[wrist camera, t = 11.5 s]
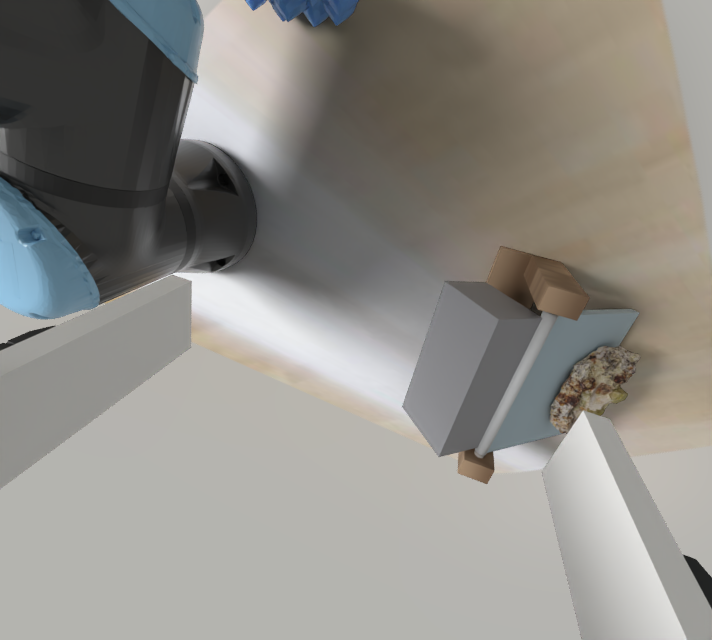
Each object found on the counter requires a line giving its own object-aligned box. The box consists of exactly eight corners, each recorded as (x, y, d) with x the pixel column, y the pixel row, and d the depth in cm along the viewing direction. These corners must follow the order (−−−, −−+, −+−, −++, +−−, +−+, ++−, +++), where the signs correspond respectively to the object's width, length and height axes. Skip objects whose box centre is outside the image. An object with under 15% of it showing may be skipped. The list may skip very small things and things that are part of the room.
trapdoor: (401, 410, 40) (441, 466, 35) (446, 276, 33) (508, 318, 27) (515, 391, 48) (564, 434, 43) (573, 280, 41) (641, 313, 35)
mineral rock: (618, 345, 32) (673, 373, 34) (583, 322, 36) (635, 349, 38) (539, 434, 35) (594, 453, 38) (515, 404, 39) (567, 424, 42)
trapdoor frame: (437, 404, 47) (429, 462, 38) (500, 246, 37) (508, 274, 28) (484, 420, 46) (486, 484, 37) (561, 262, 36) (589, 297, 27)
